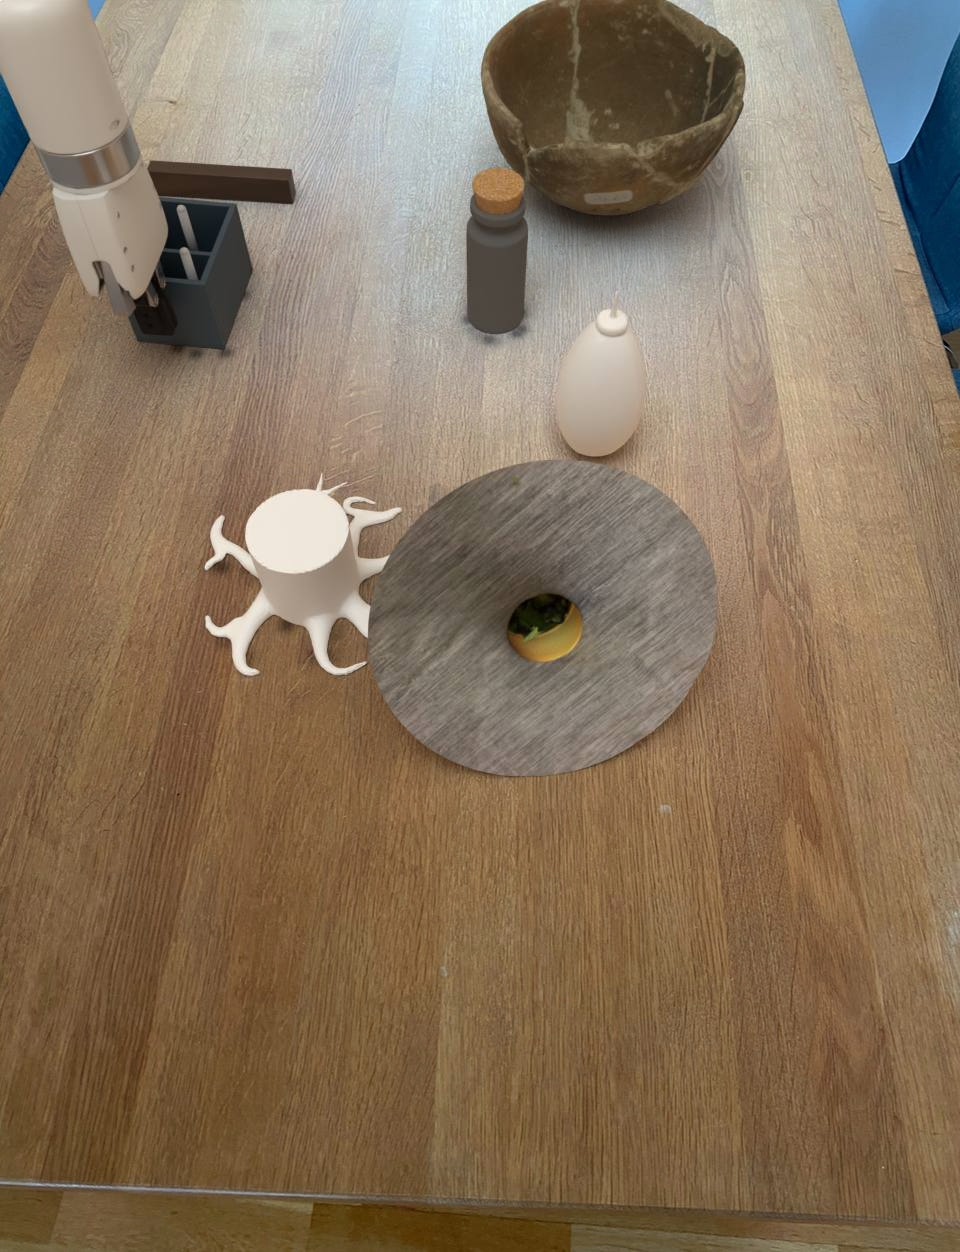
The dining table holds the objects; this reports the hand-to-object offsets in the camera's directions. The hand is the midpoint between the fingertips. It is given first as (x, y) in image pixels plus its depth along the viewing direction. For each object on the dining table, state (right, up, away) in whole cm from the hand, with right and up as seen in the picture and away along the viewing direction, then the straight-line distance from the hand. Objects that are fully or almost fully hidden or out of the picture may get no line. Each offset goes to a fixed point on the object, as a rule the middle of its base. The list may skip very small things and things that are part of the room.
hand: (160, 328), depth 90 cm
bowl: (+44, +21, +17) cm, 52 cm away
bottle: (+32, +4, +8) cm, 33 cm away
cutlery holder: (+1, +5, +8) cm, 9 cm away
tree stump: (+16, -25, -9) cm, 31 cm away
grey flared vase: (+35, -32, -13) cm, 49 cm away
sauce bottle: (+41, -11, -1) cm, 43 cm away
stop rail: (+2, +21, +17) cm, 27 cm away
